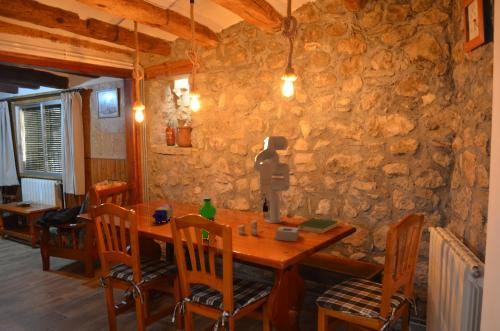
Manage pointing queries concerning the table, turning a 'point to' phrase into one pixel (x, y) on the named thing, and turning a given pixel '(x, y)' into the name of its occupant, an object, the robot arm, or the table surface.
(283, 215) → the table surface
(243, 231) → the short dowel
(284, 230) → the socket block
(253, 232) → the medium dowel
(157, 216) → the toy truck
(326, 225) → the hardcover book
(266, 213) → the long dowel
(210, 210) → the plastic bottle
